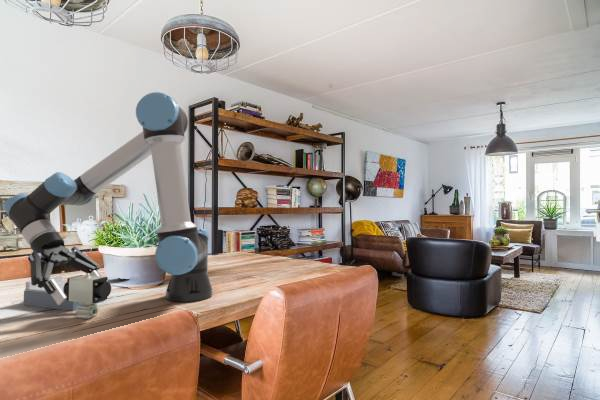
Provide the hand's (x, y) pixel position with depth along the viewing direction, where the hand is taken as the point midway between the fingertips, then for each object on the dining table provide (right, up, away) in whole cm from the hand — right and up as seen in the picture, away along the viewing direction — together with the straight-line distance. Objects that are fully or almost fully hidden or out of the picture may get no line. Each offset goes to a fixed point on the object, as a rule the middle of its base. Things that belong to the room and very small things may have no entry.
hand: (84, 295), depth 100 cm
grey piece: (-15, -6, +13) cm, 21 cm away
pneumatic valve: (+1, -6, 0) cm, 6 cm away
